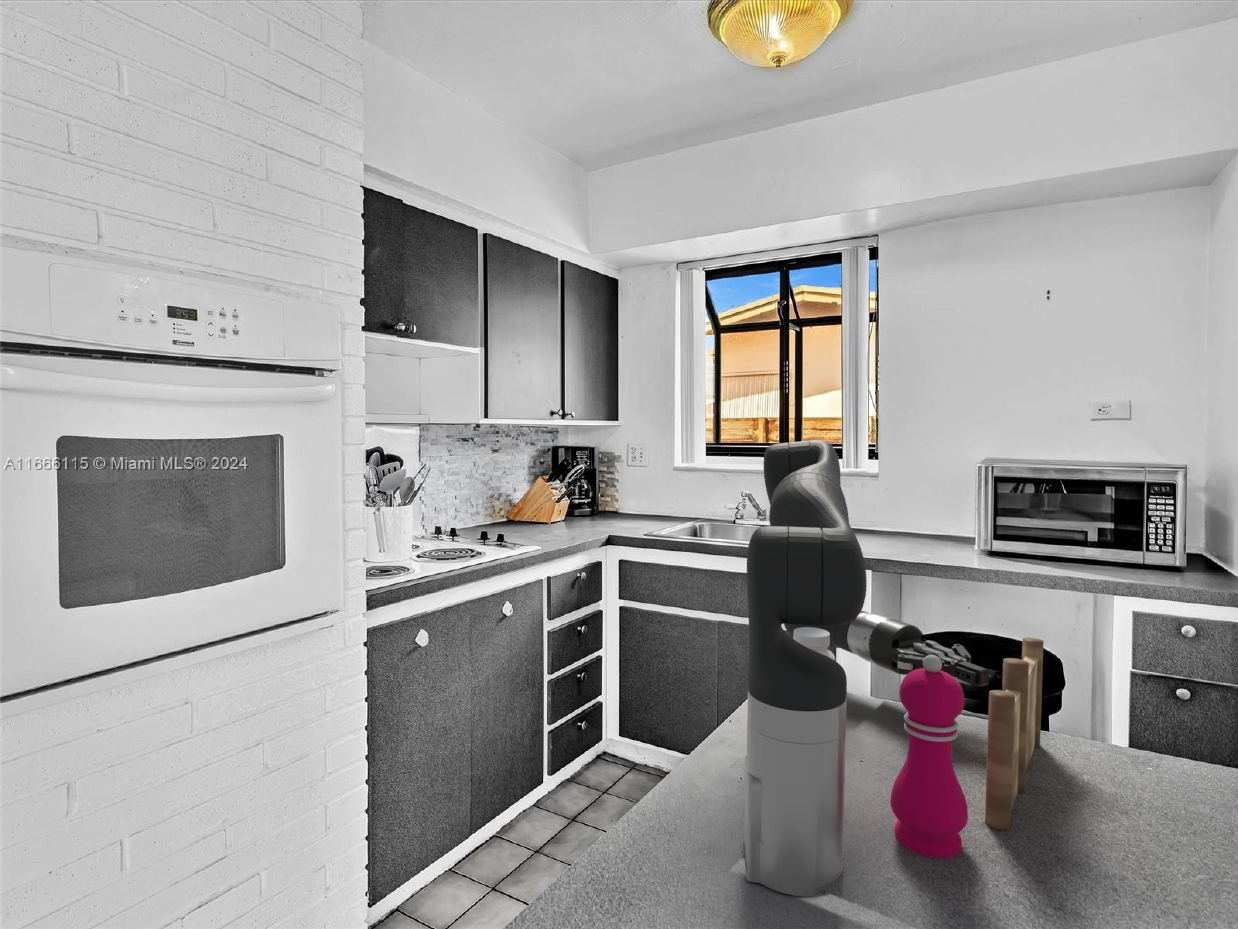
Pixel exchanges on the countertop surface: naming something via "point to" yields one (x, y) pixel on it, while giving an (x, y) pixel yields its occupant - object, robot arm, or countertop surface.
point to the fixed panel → (1006, 743)
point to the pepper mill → (930, 764)
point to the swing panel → (1033, 692)
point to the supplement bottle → (814, 639)
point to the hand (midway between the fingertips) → (985, 678)
